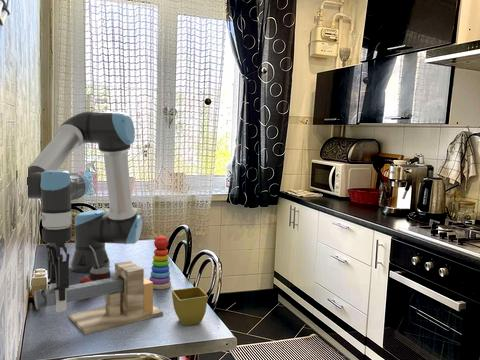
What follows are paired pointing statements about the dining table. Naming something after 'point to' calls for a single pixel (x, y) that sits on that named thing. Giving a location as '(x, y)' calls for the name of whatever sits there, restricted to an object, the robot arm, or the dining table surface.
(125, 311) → the stand
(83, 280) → the onion
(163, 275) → the stacking toy
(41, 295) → the shaft
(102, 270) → the mate gourd
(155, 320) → the dining table surface
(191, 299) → the flower pot
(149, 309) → the collar
